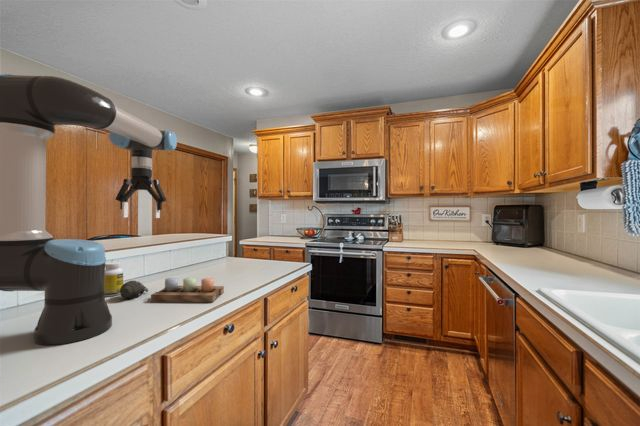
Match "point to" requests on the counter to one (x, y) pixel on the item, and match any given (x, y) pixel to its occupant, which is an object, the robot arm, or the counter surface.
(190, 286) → the sage button
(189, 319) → the counter surface
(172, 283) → the grey cylinder
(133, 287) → the hand grenade
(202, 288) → the terracotta button
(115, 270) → the pill bottle
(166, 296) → the wooden tray
